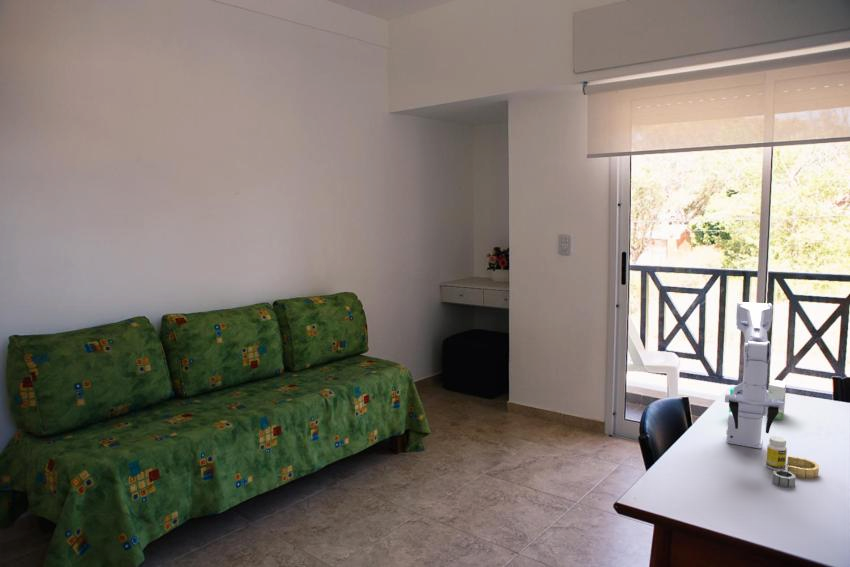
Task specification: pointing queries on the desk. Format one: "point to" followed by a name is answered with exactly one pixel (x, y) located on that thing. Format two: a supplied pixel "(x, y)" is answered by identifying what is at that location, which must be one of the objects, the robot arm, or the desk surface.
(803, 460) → the wide wooden arch
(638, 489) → the desk surface
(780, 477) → the small steel collar
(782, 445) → the supplement bottle
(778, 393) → the ink box
